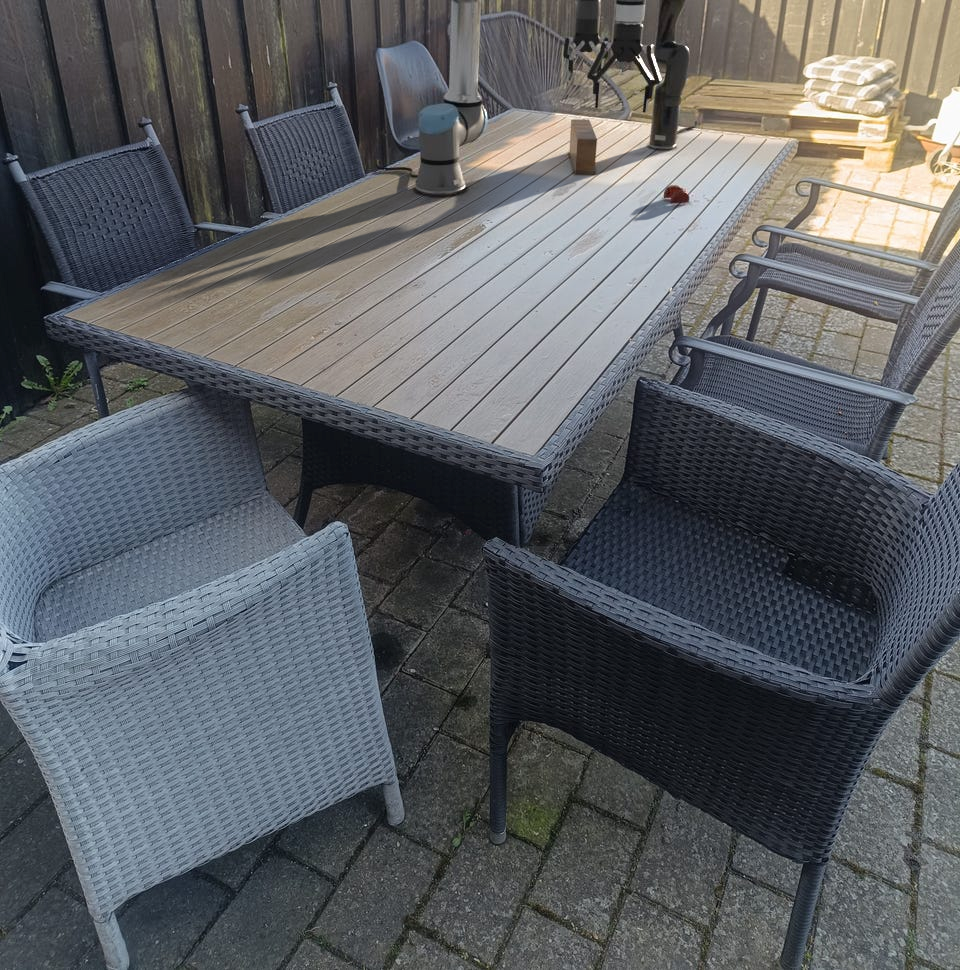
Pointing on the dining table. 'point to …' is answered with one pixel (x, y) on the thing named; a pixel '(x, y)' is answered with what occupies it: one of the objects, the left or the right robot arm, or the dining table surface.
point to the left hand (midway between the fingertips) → (621, 109)
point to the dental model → (676, 194)
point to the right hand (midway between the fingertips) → (584, 72)
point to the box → (582, 146)
